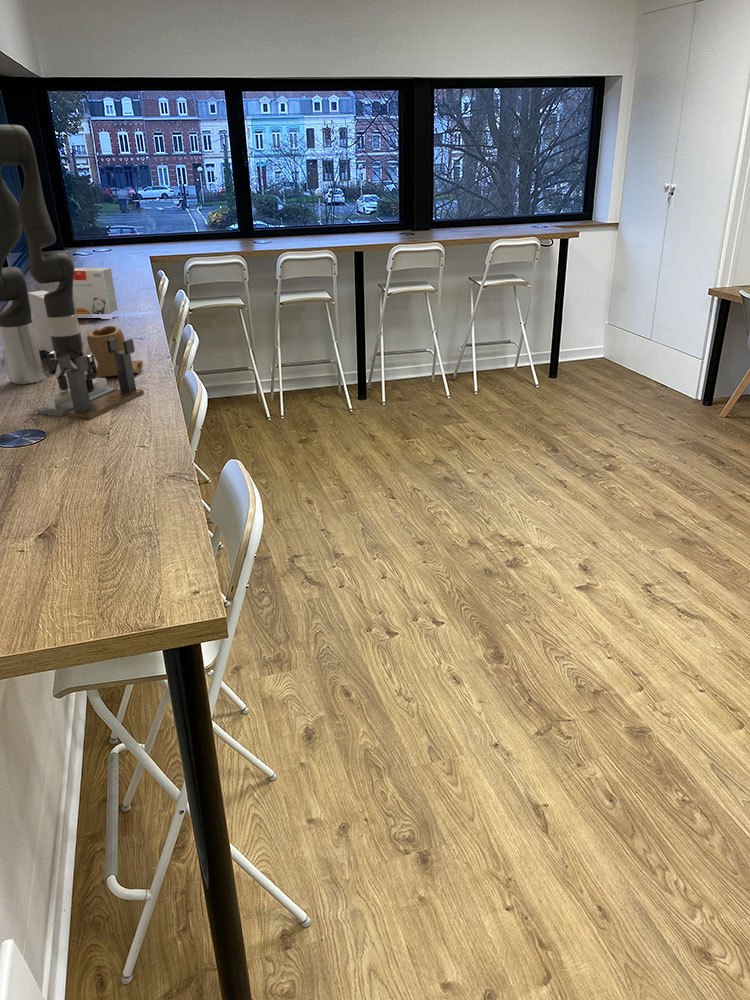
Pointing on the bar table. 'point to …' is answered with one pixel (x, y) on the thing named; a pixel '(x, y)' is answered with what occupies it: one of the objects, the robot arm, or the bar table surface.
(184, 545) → the bar table surface
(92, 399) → the rubber mat
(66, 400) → the steel rail
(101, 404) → the cradle stand
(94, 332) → the clay boot vase
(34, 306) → the game console
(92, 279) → the hard drive box
